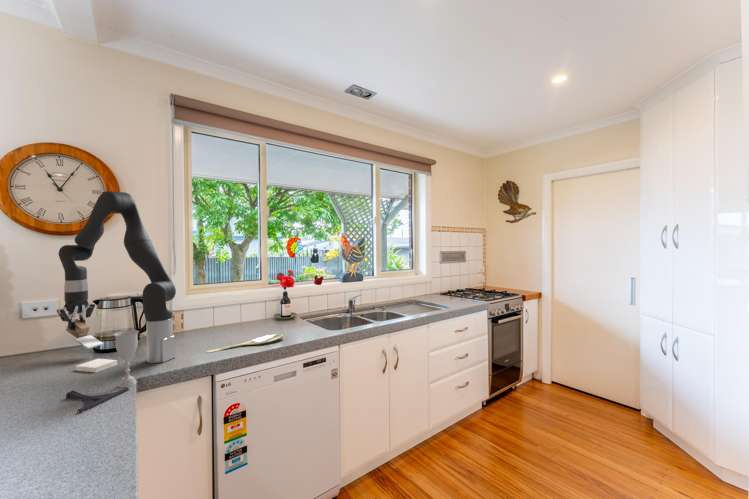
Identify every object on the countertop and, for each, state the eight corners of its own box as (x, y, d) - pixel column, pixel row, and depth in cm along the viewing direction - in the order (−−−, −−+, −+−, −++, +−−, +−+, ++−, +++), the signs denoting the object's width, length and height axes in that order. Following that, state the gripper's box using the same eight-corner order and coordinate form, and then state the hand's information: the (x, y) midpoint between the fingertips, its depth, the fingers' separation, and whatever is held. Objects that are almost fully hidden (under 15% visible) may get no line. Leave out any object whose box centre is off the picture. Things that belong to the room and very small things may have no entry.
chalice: (145, 381, 110) (144, 331, 110) (124, 389, 104) (123, 336, 104) (131, 378, 113) (129, 329, 112) (109, 386, 106) (108, 334, 106)
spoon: (207, 359, 136) (207, 355, 136) (205, 353, 145) (205, 348, 145) (286, 340, 155) (285, 336, 155) (280, 335, 164) (279, 331, 164)
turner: (103, 344, 137) (106, 334, 137) (87, 348, 131) (91, 338, 131) (77, 327, 140) (80, 318, 140) (61, 331, 134) (65, 321, 134)
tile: (98, 363, 129) (117, 365, 127) (76, 371, 121) (95, 373, 119) (98, 358, 129) (117, 360, 127) (75, 365, 121) (95, 367, 119)
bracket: (92, 389, 106) (92, 381, 106) (129, 392, 104) (128, 383, 104) (40, 411, 92) (40, 402, 92) (81, 415, 89) (81, 406, 89)
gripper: (63, 292, 129) (64, 334, 129) (100, 288, 142) (100, 325, 142) (50, 292, 130) (51, 333, 130) (87, 287, 144) (88, 324, 144)
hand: (77, 328), depth 136 cm, fingers closed on turner, 3 cm apart
